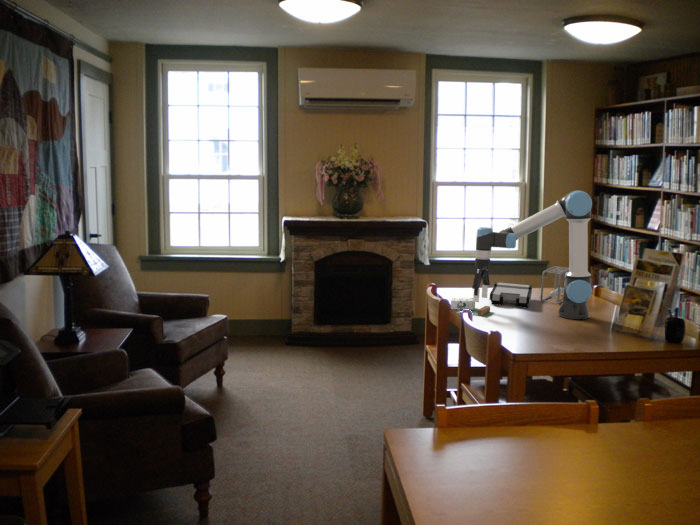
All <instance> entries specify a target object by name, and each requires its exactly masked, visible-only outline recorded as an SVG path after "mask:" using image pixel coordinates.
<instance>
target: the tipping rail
mask: <svg viewBox="0 0 700 525" xmlns="http://www.w3.org/2000/svg"><path fill="white" fill-rule="evenodd" d="M477 310H478V316H477V317H480V316H484V315H486V314H488V313H489V312H491V306H489V305H484V306H482V307H481V308H479V309H477Z"/></svg>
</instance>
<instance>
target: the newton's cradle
mask: <svg viewBox="0 0 700 525" xmlns="http://www.w3.org/2000/svg"><path fill="white" fill-rule="evenodd" d="M559 270H560V271H559ZM566 272H569V267H564V266H558V265H555V266H551V267H549V268H548V269H545V270H543V271H542V276H541V285H540V286H541V287H540V297H539V298H540V302H547V303H552V304H553V303H554V304H558V305H560V304H562V303H561V302H563V299H561V300H560V295H561V296H562V297H563V294H564V287H563V285H562V284H563V283H564V281H565V278H564V277H565V274H566ZM546 273H550V274H554V276H553V275H550V278H551V280H552V281H554V285H551V286H552V288H551V289H552V290H551V291H550V292H549V295H548V296H546V297H545V298H543V295H544V286H545V285H544V284H545V274H546ZM552 277H553V279H552ZM550 298H553V299H554V298H556V299H557V300H556V301H549V299H550ZM546 299H547V300H546Z"/></svg>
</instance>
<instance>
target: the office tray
mask: <svg viewBox="0 0 700 525" xmlns="http://www.w3.org/2000/svg"><path fill="white" fill-rule="evenodd" d="M532 292H533V285H531V284H530V285H529V284H518V283H505V282H497V281H496V282H494V284H493V288H492V289H491V291H490V292H489V301H490V302H491V305H493V306H494V305H495V306H504V304H505V303H509V304H510V303H513V304H515V308H524V307H525V308H526V309H528V307H529V305H530V302H531V299H532Z"/></svg>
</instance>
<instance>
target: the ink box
mask: <svg viewBox="0 0 700 525" xmlns="http://www.w3.org/2000/svg"><path fill="white" fill-rule="evenodd" d="M450 306H451V310H456V309H458V311H460V310H463V309H469V310H475V308H476V302H473V298H472V297H470V298H469V297H466V298H465V297H464V298H463V297H459V298H457V297H452V298H451V300H450Z"/></svg>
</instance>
